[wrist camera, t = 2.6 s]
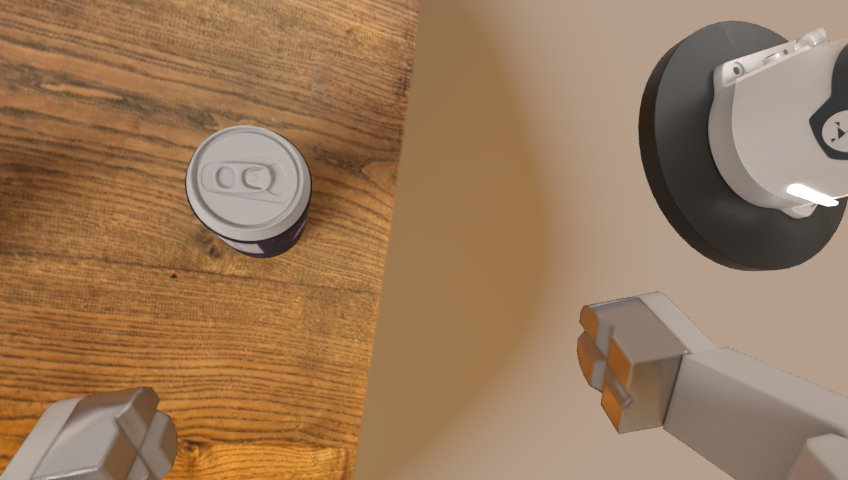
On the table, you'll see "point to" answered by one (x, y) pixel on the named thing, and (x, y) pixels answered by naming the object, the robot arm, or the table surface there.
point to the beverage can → (250, 189)
